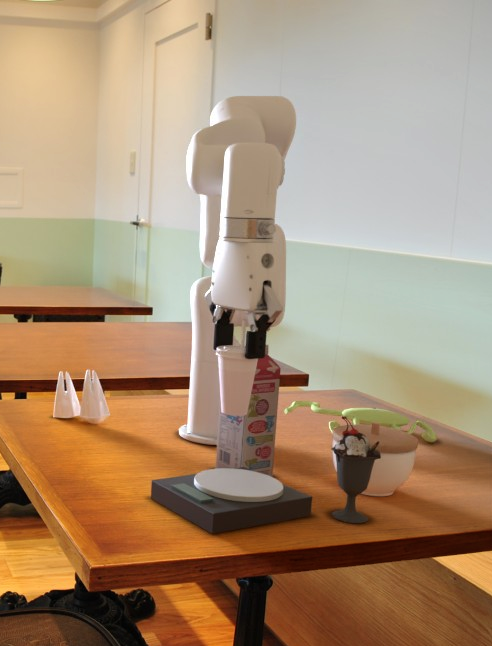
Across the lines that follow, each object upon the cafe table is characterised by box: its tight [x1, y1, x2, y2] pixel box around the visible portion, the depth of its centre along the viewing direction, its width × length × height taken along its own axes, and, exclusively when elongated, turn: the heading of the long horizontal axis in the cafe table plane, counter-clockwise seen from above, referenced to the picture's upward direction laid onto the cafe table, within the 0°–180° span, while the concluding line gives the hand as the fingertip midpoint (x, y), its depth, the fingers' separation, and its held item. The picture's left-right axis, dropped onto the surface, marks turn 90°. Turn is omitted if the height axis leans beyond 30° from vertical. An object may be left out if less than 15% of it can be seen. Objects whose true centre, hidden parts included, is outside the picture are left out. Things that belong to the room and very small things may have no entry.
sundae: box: [330, 416, 381, 524], centre depth 121 cm, size 7×7×15 cm
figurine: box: [283, 400, 437, 443], centre depth 167 cm, size 18×27×6 cm
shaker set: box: [53, 369, 111, 425], centre depth 172 cm, size 12×4×11 cm, turn 53°
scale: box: [150, 467, 313, 535], centre depth 125 cm, size 18×15×4 cm
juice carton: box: [215, 344, 281, 477], centre depth 139 cm, size 7×7×22 cm
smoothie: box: [216, 320, 258, 416], centre depth 123 cm, size 6×6×14 cm
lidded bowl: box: [331, 422, 419, 497], centre depth 134 cm, size 13×13×11 cm
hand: (238, 352), depth 122 cm, fingers closed on smoothie, 6 cm apart
